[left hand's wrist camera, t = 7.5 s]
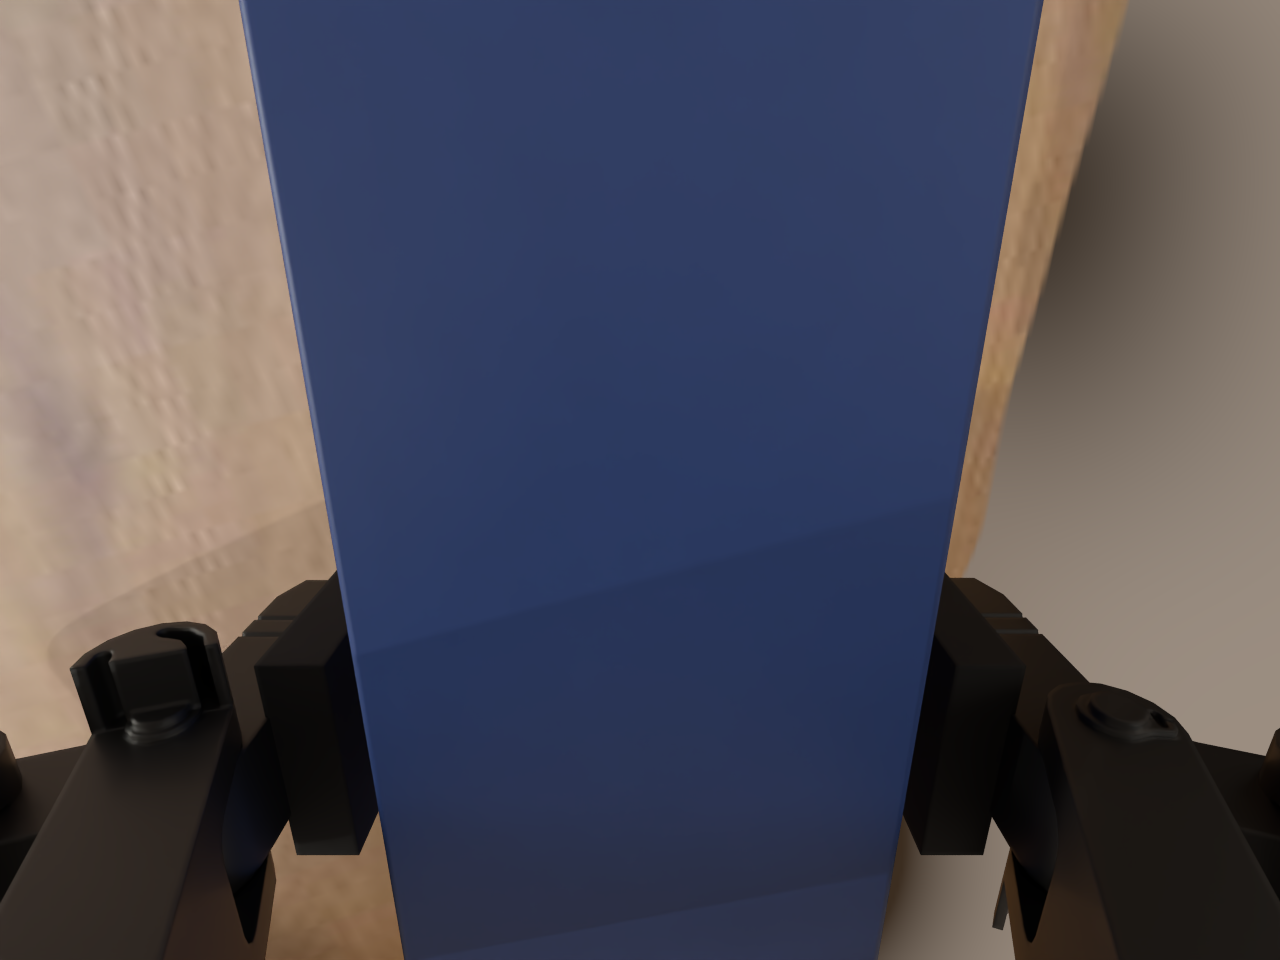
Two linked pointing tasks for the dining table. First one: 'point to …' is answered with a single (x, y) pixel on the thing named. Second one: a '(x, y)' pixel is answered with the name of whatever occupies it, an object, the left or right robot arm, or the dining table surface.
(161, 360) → the dining table surface
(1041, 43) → the dining table surface
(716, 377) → the bar
